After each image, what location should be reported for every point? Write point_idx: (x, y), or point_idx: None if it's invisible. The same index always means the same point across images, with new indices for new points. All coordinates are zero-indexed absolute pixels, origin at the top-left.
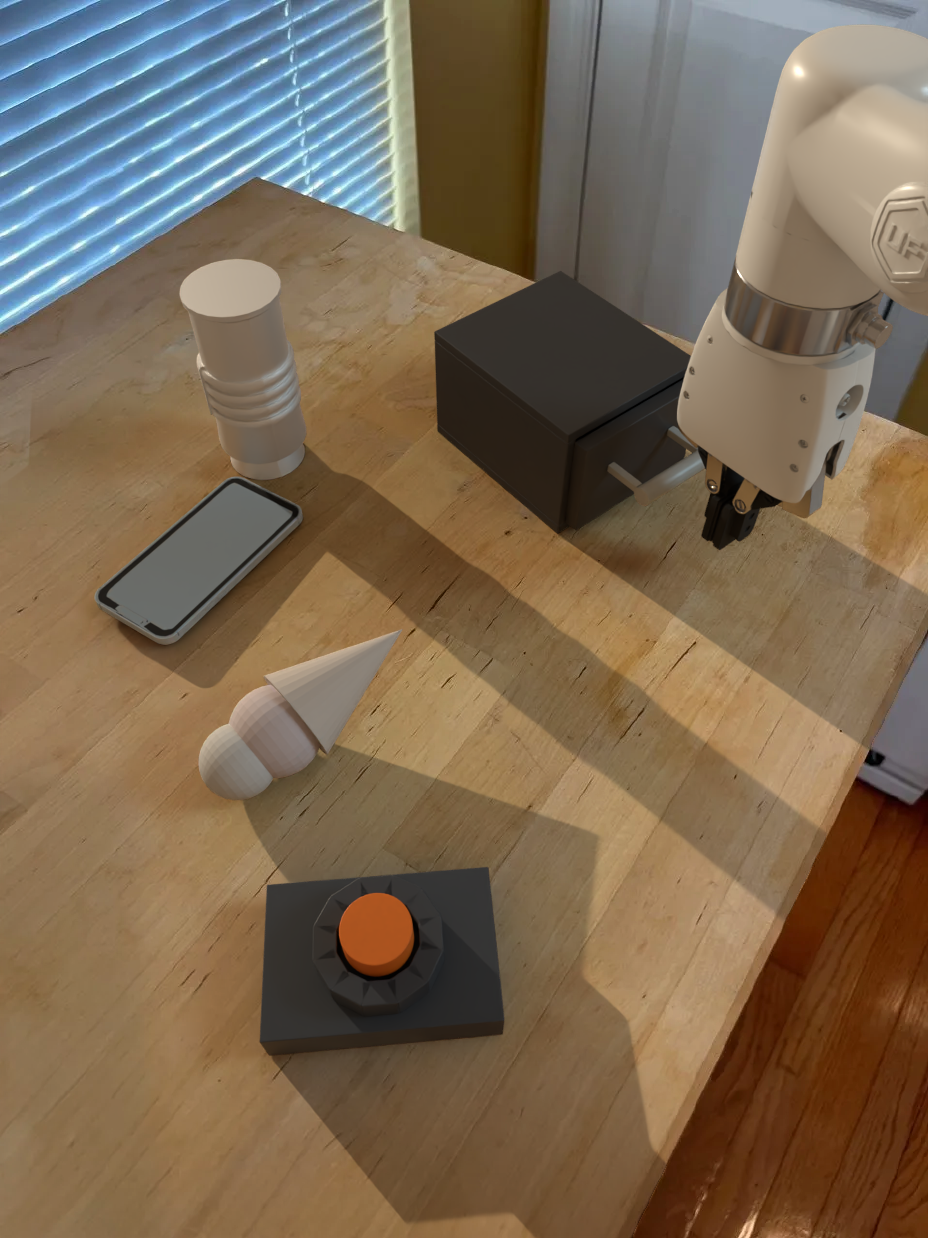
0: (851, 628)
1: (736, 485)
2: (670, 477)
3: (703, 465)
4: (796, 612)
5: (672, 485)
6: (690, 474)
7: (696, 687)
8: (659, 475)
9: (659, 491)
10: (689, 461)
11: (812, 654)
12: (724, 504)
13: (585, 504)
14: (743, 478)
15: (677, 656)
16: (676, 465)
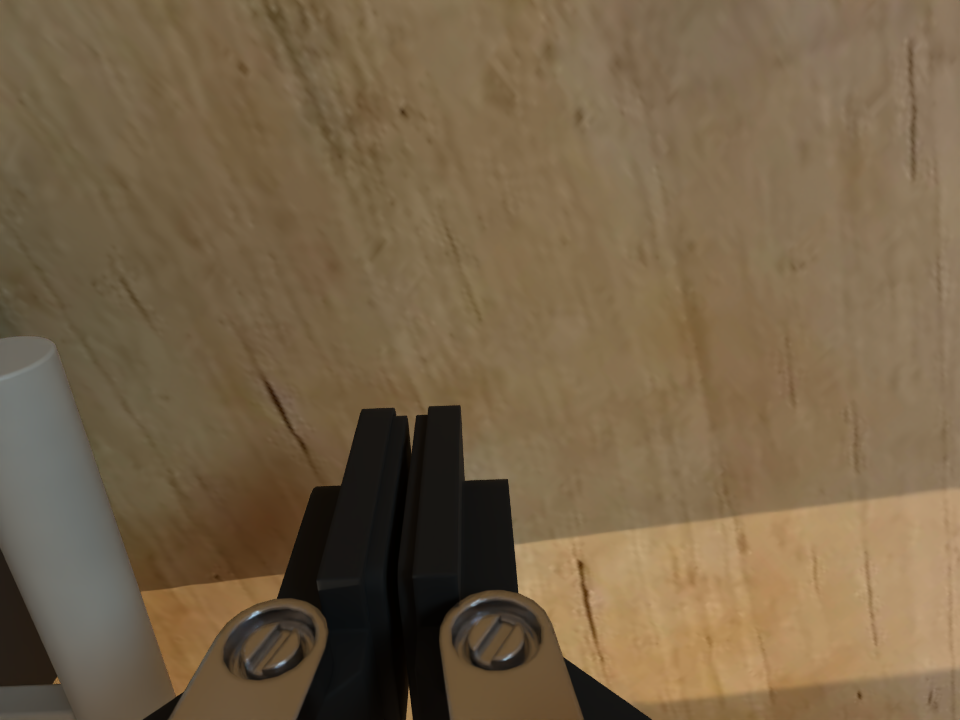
0: (888, 199)
1: (372, 706)
2: (97, 658)
3: (75, 470)
4: (715, 291)
5: (135, 633)
6: (105, 540)
7: (668, 631)
8: (65, 682)
9: (148, 699)
10: (31, 547)
11: (836, 369)
12: (403, 700)
13: (39, 672)
14: (357, 673)
15: (579, 612)
16: (33, 601)
